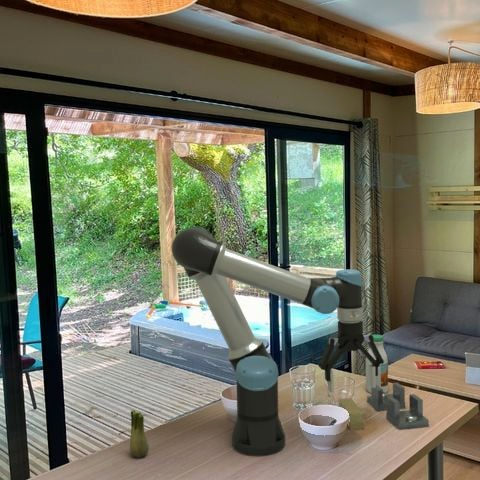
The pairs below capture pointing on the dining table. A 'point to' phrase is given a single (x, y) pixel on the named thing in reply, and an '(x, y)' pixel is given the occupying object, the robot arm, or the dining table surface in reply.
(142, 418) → the fennel bulb
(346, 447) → the dining table surface
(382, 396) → the chain end far
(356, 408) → the link bar
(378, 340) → the milk bottle
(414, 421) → the bracket
